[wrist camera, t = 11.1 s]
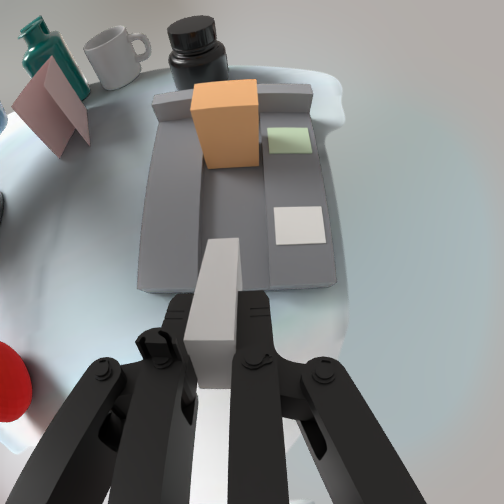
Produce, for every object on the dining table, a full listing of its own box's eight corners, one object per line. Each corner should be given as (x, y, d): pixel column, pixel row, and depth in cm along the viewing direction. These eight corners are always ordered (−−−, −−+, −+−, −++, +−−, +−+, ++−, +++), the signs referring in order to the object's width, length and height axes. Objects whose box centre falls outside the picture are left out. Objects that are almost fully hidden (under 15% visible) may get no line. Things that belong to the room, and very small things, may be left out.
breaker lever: (258, 166, 31) (258, 104, 21) (207, 169, 31) (190, 110, 21) (257, 140, 32) (256, 79, 22) (209, 143, 32) (194, 84, 22)
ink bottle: (237, 69, 39) (233, 12, 27) (221, 99, 37) (211, 36, 25) (186, 66, 40) (174, 15, 28) (165, 96, 37) (146, 40, 26)
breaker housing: (329, 287, 28) (347, 275, 22) (147, 292, 29) (121, 282, 23) (304, 117, 35) (310, 84, 29) (166, 125, 35) (154, 95, 29)
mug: (98, 95, 39) (76, 56, 29) (109, 71, 42) (91, 35, 31) (154, 78, 39) (138, 33, 29) (160, 56, 42) (148, 15, 31)
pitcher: (92, 94, 40) (48, 15, 18) (59, 119, 38) (6, 47, 17) (86, 77, 42) (48, 9, 21) (56, 99, 41) (13, 36, 20)
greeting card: (83, 110, 38) (48, 56, 24) (112, 105, 38) (79, 44, 23) (56, 159, 35) (8, 108, 21) (85, 157, 35) (35, 96, 20)
